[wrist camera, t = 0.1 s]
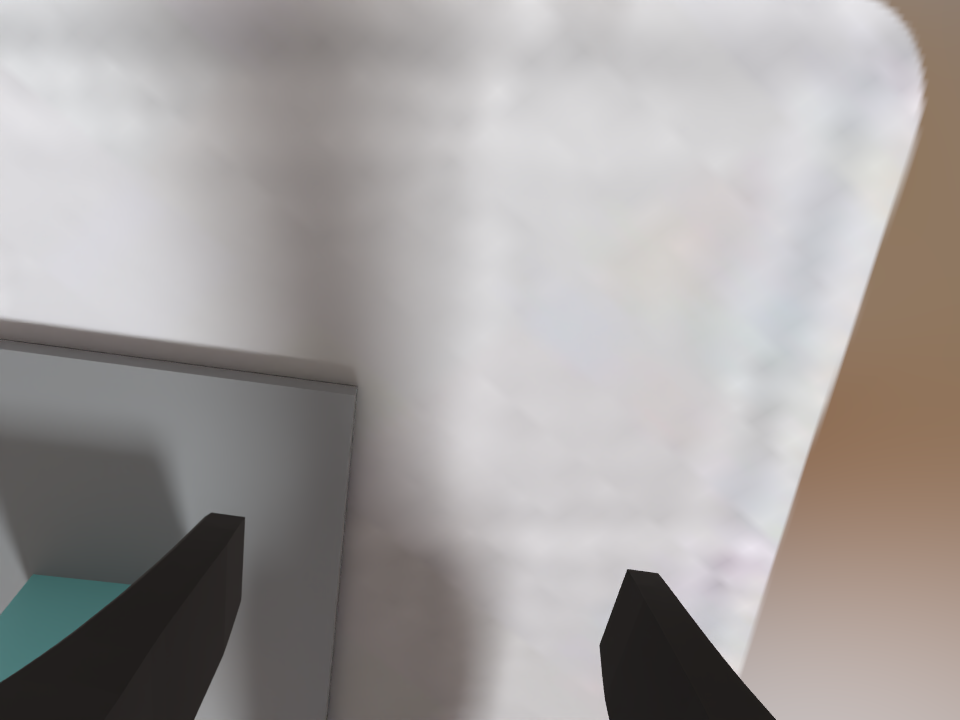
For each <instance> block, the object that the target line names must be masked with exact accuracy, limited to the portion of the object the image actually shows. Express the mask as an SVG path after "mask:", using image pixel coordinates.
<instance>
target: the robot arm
mask: <svg viewBox="0 0 960 720" xmlns="http://www.w3.org/2000/svg"><path fill="white" fill-rule="evenodd" d="M244 534H245V517H241V516H234V515H227V514H219V513H212V512H211V513H210V514H208V515H206V516H205V517H204V518H203V519H202V520H201V521H200V522H199V523H198V524H197V525H196V526H195V527H194V528H193V529H192V530H191V531H190V532H189V533H188V534H186V535H185V536H184V537H183V538H182V539H181V540H180V541H179V542H178V543H177V544H176V545H175V546H174V547H173V548H172V549H171V550H170V551H169V552H167V553H166V554H165V555H164V556H163V557H162V558H161V559H160V560H159V561H158V562H157V563H156V564H154V565H153V566H152V567H151V568H150V569H149V570H148V571H146V572H145V573H144V574H143V575H142V576H141V577H140V578H138V579H137V580H136V581H135V582H134V583H133V584H132V585H130V586H129V587H128V588H127V589H126V590H125V591H124V592H122V593H121V594H120V595H119V596H118V597H116V598H115V599H114V600H113V601H111V602H110V603H109V604H108V605H106V606H105V607H104V608H103V609H101V610H100V611H99V612H98V613H96V614H95V615H94V616H93V617H91V618H90V619H89V620H87V621H86V622H85V623H84V624H82V625H81V626H80V627H79V628H77V629H76V630H75V631H73V632H72V633H71V634H69V635H68V636H67V637H65V638H64V639H63V640H61V641H60V642H59V643H57V644H56V645H54V646H53V647H52V648H50V649H49V650H47V651H46V652H45V653H43V654H42V655H40V656H39V657H37V658H36V659H34V660H33V661H32V662H30V663H29V664H27V665H26V666H24V667H23V668H21V669H20V670H18V671H17V672H15V673H14V674H12V675H11V676H9V677H8V678H6V679H4V680H3V681H1V682H0V720H194V719H195V717H196V715H197V712H198V710H199V708H200V706H201V704H202V701H203V699H204V697H205V695H206V693H207V690H208V688H209V686H210V684H211V682H212V679H213V677H214V675H215V673H216V671H217V668H218V666H219V664H220V662H221V659H222V657H223V655H224V652H225V649H226V646H227V643H228V640H229V637H230V634H231V631H232V628H233V625H234V622H235V619H236V616H237V613H238V609H239V606H240V603H241V598H242V577H243V555H244ZM600 656H601V667H602V677H603V686H604V695H605V701H606V706H607V711H608V716H609V720H776V719H775V718H774V717H773V716H772V715H771V714H770V712H769V711H768V710H767V709H766V708H765V707H764V706H763V704H762V703H761V702H760V701H759V700H758V699H757V698H756V696H755V695H754V694H753V693H752V692H751V691H750V690H749V688H748V687H747V686H746V685H745V684H744V683H743V681H742V680H741V679H740V678H739V677H738V675H737V674H736V673H735V672H734V671H733V669H732V668H731V667H730V666H729V664H728V663H727V662H726V661H725V660H724V658H723V657H722V656H721V655H720V653H719V652H718V651H717V650H716V648H715V647H714V646H713V644H712V643H711V642H710V641H709V639H708V638H707V637H706V635H705V634H704V633H703V632H702V630H701V629H700V628H699V626H698V625H697V624H696V622H695V621H694V620H693V618H692V617H691V616H690V615H689V613H688V612H687V611H686V609H685V608H684V607H683V605H682V604H681V603H680V601H679V600H678V599H677V597H676V596H675V595H674V593H673V592H672V591H671V589H670V588H669V587H668V585H667V584H666V583H665V581H664V580H663V579H662V578H661V576H660V575H659V574H658V573H652V572H644V571H637V570H630V569H627V572H626V574H625V577H624V580H623V583H622V585H621V588H620V591H619V594H618V596H617V599H616V602H615V604H614V607H613V610H612V613H611V615H610V618H609V621H608V624H607V626H606V629H605V632H604V634H603V637H602V640H601V643H600Z"/></svg>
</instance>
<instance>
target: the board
mask: <svg viewBox="0 0 960 720" xmlns="http://www.w3.org/2000/svg"><path fill="white" fill-rule="evenodd" d="M356 396H357V387H356V386H349V385H341V384H334V383H326V382H319V381H311V380H303V379H296V378H288V377H281V376H273V375H266V374H258V373H251V372H243V371H235V370H228V369H220V368H213V367H205V366H198V365H190V364H183V363H175V362H167V361H160V360H152V359H145V358H137V357H130V356H122V355H115V354H107V353H99V352H92V351H84V350H77V349H69V348H62V347H54V346H47V345H39V344H31V343H24V342H16V341H9V340H1V339H0V615H1V613H2V612H3V611H4V610H5V608H6V607H7V606H8V605H9V603H10V602H11V601H12V600H13V598H14V597H15V596H16V595H17V593H18V592H19V591H20V590H21V588H22V587H23V586H24V585H25V584H26V582H27V581H28V580H29V579H30V577H31V576H32V575H33V574H36V575H45V576H54V577H64V578H73V579H83V580H92V581H102V582H111V583H121V584H130V585H132V584H133V583H134V582H135V581H136V580H137V579H138V578H140V577H141V576H142V575H143V574H144V573H145V572H146V571H148V570H149V569H150V568H151V567H152V566H153V565H154V564H156V563H157V562H158V561H159V560H160V559H161V558H162V557H163V556H164V555H165V554H166V553H167V552H169V551H170V550H171V549H172V548H173V547H174V546H175V545H176V544H177V543H178V542H179V541H180V540H181V539H182V538H183V537H184V536H185V535H186V534H188V533H189V532H190V531H191V530H192V529H193V528H194V527H195V526H196V525H197V524H198V523H199V522H200V521H201V520H202V519H203V518H204V517H205V516H206V515H208V514H210V513H211V512H212V513H219V514H227V515H234V516H241V517H245V534H244V555H243V577H242V598H241V603H240V606H239V609H238V613H237V616H236V619H235V622H234V625H233V628H232V631H231V634H230V637H229V640H228V643H227V646H226V649H225V652H224V655H223V657H222V659H221V662H220V664H219V666H218V668H217V671H216V673H215V675H214V677H213V679H212V682H211V684H210V686H209V688H208V690H207V693H206V695H205V697H204V699H203V701H202V704H201V706H200V708H199V710H198V712H197V715H196V717H195V719H194V720H327V713H328V702H329V691H330V681H331V670H332V659H333V648H334V637H335V626H336V615H337V604H338V593H339V582H340V571H341V560H342V549H343V538H344V528H345V517H346V506H347V495H348V484H349V473H350V462H351V451H352V440H353V429H354V418H355V407H356Z"/></svg>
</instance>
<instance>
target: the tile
mask: <svg viewBox="0 0 960 720" xmlns="http://www.w3.org/2000/svg"><path fill="white" fill-rule="evenodd" d="M129 586H130V584H121V583H111V582H102V581H92V580H83V579H73V578H64V577H54V576H45V575H36V574H33V575H32V576H31V577H30V579H29V580H28V581H27V582H26V584H25V585H24V586H23V587H22V588H21V590H20V591H19V592H18V593H17V595H16V596H15V597H14V598H13V600H12V601H11V602H10V603H9V605H8V606H7V607H6V608H5V610H4V611H3V612H2V613H1V615H0V682H1V681H3V680H4V679H6V678H8V677H9V676H11V675H12V674H14V673H15V672H17V671H18V670H20V669H21V668H23V667H24V666H26V665H27V664H29V663H30V662H32V661H33V660H34V659H36V658H37V657H39V656H40V655H42V654H43V653H45V652H46V651H47V650H49V649H50V648H52V647H53V646H54V645H56V644H57V643H59V642H60V641H61V640H63V639H64V638H65V637H67V636H68V635H69V634H71V633H72V632H73V631H75V630H76V629H77V628H79V627H80V626H81V625H82V624H84V623H85V622H86V621H87V620H89V619H90V618H91V617H93V616H94V615H95V614H96V613H98V612H99V611H100V610H101V609H103V608H104V607H105V606H106V605H108V604H109V603H110V602H111V601H113V600H114V599H115V598H116V597H118V596H119V595H120V594H121V593H122V592H124V591H125V590H126V589H127V588H128V587H129Z"/></svg>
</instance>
